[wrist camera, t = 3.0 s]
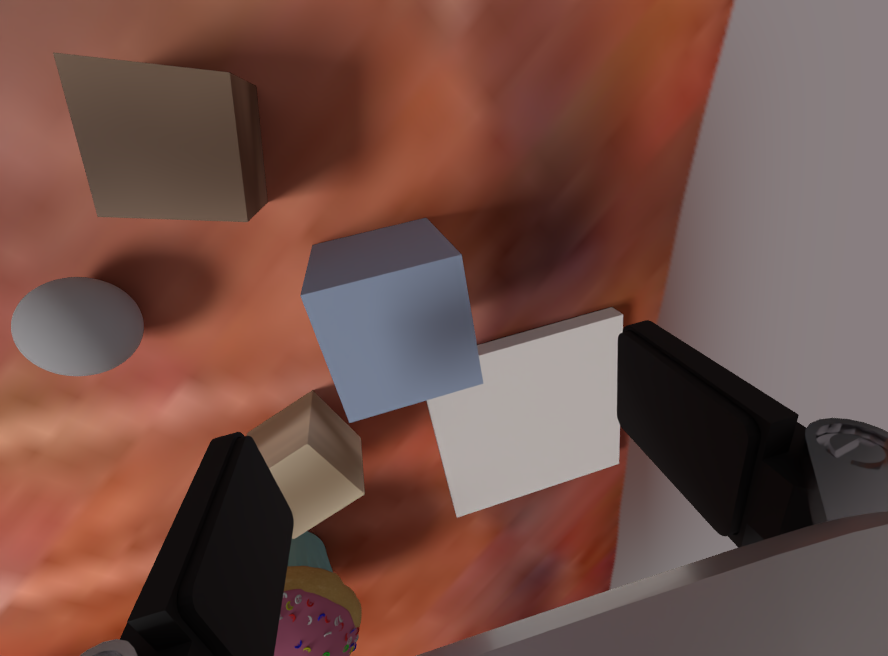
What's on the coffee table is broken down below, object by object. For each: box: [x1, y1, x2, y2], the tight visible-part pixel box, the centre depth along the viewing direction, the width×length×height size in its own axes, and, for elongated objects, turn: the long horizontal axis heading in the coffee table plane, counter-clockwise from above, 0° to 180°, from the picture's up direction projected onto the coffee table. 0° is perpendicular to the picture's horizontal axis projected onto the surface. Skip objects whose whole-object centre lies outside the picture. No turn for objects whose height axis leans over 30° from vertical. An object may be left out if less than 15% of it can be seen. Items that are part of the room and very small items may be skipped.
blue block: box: [300, 218, 483, 423], centre depth 16 cm, size 5×5×6 cm
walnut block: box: [53, 53, 268, 222], centre depth 13 cm, size 4×4×4 cm
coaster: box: [426, 307, 623, 517], centre depth 24 cm, size 11×11×1 cm
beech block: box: [247, 390, 365, 539], centre depth 20 cm, size 4×4×4 cm
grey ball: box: [11, 277, 144, 376], centre depth 15 cm, size 4×4×4 cm
